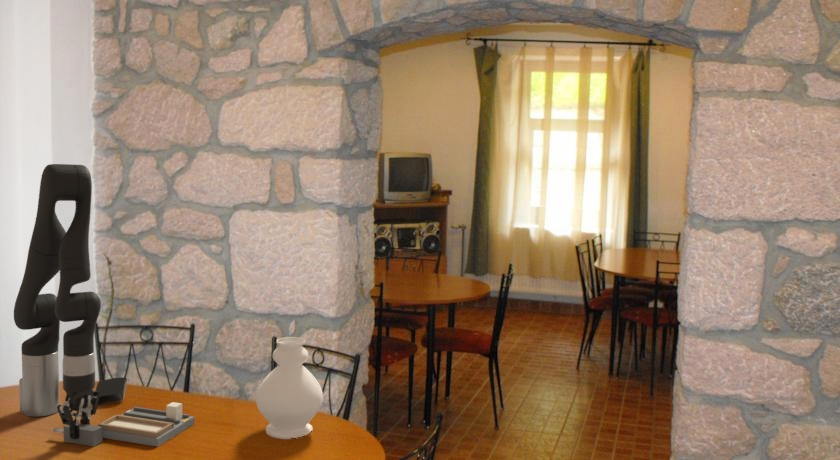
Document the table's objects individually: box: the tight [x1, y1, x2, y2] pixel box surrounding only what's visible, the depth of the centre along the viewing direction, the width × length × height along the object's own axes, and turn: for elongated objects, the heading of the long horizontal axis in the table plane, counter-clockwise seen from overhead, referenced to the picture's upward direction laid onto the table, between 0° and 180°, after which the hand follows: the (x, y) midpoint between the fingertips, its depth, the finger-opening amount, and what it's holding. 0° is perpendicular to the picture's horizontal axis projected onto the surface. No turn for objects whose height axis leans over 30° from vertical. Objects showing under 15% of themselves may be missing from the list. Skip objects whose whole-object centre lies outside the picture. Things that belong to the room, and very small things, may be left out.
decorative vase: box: [255, 336, 324, 440], centre depth 214 cm, size 18×18×25 cm
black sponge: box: [93, 377, 128, 406], centre depth 237 cm, size 16×8×4 cm, turn 16°
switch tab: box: [165, 401, 183, 420], centre depth 215 cm, size 3×3×4 cm
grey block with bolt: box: [53, 422, 103, 447], centre depth 203 cm, size 13×3×4 cm, turn 74°
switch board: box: [97, 406, 195, 447], centre depth 212 cm, size 19×17×3 cm
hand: (79, 435), depth 203 cm, fingers closed on grey block with bolt, 3 cm apart
